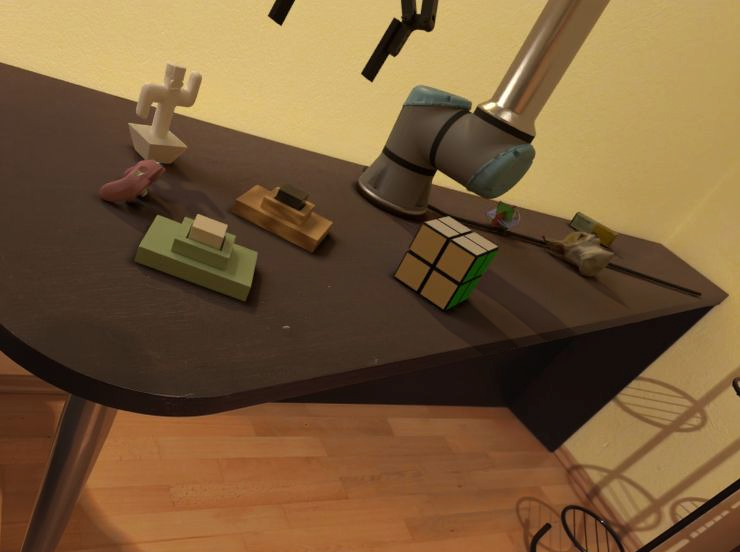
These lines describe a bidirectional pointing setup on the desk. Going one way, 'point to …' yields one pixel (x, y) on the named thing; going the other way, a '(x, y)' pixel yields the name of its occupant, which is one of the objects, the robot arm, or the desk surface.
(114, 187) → the pink rounded piece
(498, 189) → the robot arm
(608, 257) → the ceramic sculpture
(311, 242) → the wooden socket base
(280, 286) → the desk surface
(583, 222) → the medication box
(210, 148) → the desk surface
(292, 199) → the black key
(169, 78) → the figurine
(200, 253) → the green stepped button base
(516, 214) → the geometric puzzle
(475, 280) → the puzzle cube
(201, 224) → the white key
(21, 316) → the desk surface
